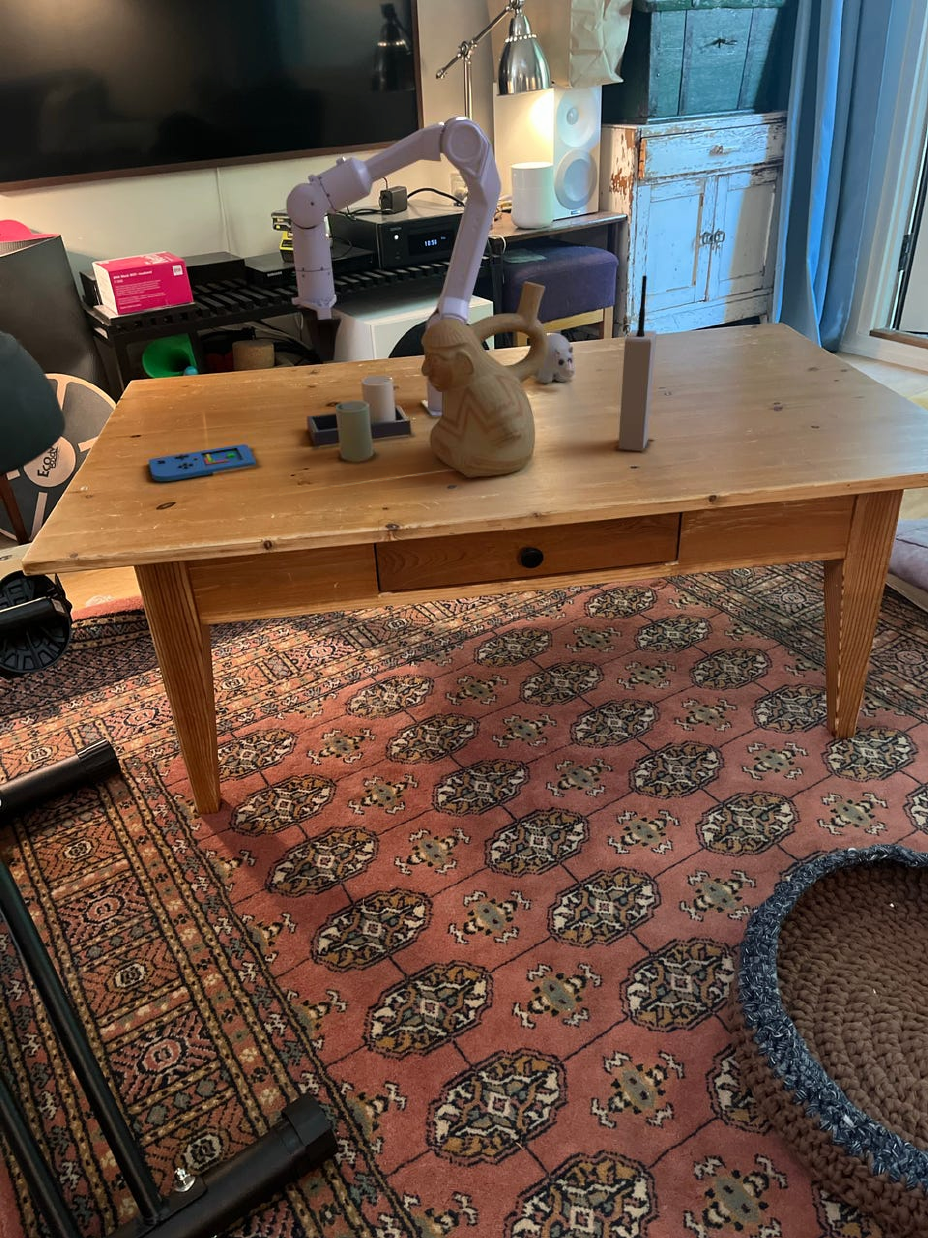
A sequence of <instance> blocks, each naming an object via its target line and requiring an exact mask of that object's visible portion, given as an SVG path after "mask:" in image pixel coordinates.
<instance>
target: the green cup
mask: <svg viewBox="0 0 928 1238" xmlns="http://www.w3.org/2000/svg"><path fill="white" fill-rule="evenodd" d="M334 409H335V413H336V418H337V427H338V436H339V444H338V445H339V453H340V457H341V459H344V460H346V461H362V460H366V459H369V458H371V457H372V456H373V455H374V444H373V439H372V432H371V421H370V410H369V404H368V403H366V402H363V400H348V401H343V402H340V403H337V404H336V406H335V408H334Z"/></svg>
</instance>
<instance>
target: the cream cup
mask: <svg viewBox="0 0 928 1238" xmlns="http://www.w3.org/2000/svg"><path fill="white" fill-rule="evenodd" d="M361 392H362V401H363V402H366V403H368V404H369V410H370V421H371V424H374V423H382V422H389V421H396V414H395V406H396V403H395V389H394V378H393V377H391V376H388V375H370V376H366V377H364V378H362V379H361Z"/></svg>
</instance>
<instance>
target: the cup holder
mask: <svg viewBox="0 0 928 1238" xmlns="http://www.w3.org/2000/svg"><path fill="white" fill-rule="evenodd" d="M395 414H396V421H389V422H382V423H374V424H371V432H372V440H377V439H384V438H391V437H398V436H407V435H411V434H412V429H411V420H410V418H409V417H408V415H407V414H406V413H405V411H404V410H403V409H402V407H401V405H400V404H398V405H397V404H395ZM306 423H307V429H308V432H309V435H310V437H311V440H312V442H313V444H314V446H315V447H321V446H322V447H323V446H330V445H339V436H338V427H337V418H336V412H331V413H324V414H316V415H307V416H306Z"/></svg>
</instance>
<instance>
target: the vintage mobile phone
mask: <svg viewBox="0 0 928 1238" xmlns="http://www.w3.org/2000/svg"><path fill="white" fill-rule="evenodd" d="M647 281H648V276H647V275H645V274H644V275H643V276H642V278H641V292H640V307H639V311H638V324H637V329H632V330H631V331H630V332H629V333H628V335H627V336H626V337H625V339H624V348H623V349H624V351H623V365H622V366H623V367H622V382H621V399H620V414H619V429H618V430H619V432H618V449H619V450H623V451H630V452H631V451H634V452H643V450H644V449H645V447H646V444H647V443H648V440H649V434H650V428H649V427H650V426H649V425H650V424H649V423H650V411H651V399H652V398H651V397H652V389H653V375H654V374H653V373H654V367H655V357H656V345H657V331H656V330H645V319H646V307H645V306H646V292H647Z"/></svg>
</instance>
